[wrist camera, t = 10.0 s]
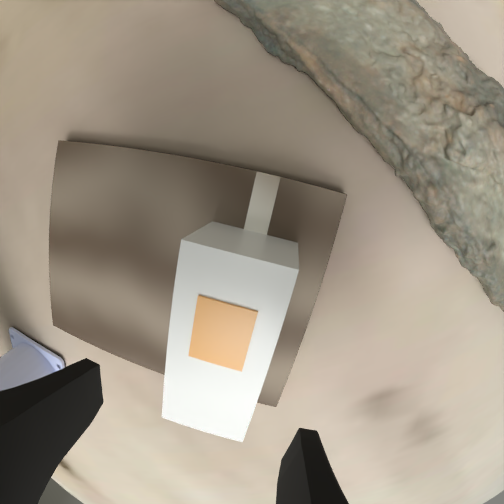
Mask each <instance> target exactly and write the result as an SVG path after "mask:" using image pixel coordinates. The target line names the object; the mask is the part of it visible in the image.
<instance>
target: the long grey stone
mask: <svg viewBox="0 0 504 504" xmlns="http://www.w3.org/2000/svg"><path fill="white" fill-rule="evenodd" d="M214 1H215V2H216V3H217V4H219V5H221V6H222V7H223V8H224V9H225V10H228V11H230V12H231V13H233V14H235V15H237V16H239V18H240V20H241V22H242V23H243V24H244V25H246V26H248V27H250V28H251V29H252V30H253V32H254V34H255V35H256V37H257V38H258V40H259V41H260V42H261V43H262V44H263V45H264V47H265V49H266V50H267V52H268V53H270V54H272V55H273V56H278V57H279V58H280V59H281V61H282V62H284V63H287V64H290V65H293V66H295V67H296V69H297V71H303V72H305V73H307V74H308V75H309V76H310V77H311V78H312V79H313V80H314V81H315V82H316V84H317V85H318V86H319V87H320V88H321V89H322V90H323V91H324V92H325V93H326V94H327V95H328V96H329V97H331V99H333V100H334V101H335V102H336V103H337V105H338V108H339V110H340V111H341V113H342V114H343V115H344V116H345V118H346V119H347V120H348V121H349V122H350V123H351V125H352V126H353V128H354V129H355V130H356V131H357V132H358V133H360V134H362V135H364V136H366V137H367V138H368V139H369V141H370V142H371V143H372V145H373V146H374V148H376V149H377V151H378V153H379V154H380V155H381V156H382V158H383V160H384V161H385V162H387V163H389V164H390V165H391V166H393V167H394V168H395V175H396V176H401V177H402V179H403V180H404V181H405V182H406V184H407V185H408V187H409V188H411V189H412V191H413V194H414V197H415V198H416V199H417V200H418V201H419V203H420V204H421V206H422V208H423V209H424V210H425V212H426V213H427V214H428V217H429V220H430V224H431V226H432V228H433V229H434V230H435V232H436V233H437V235H438V236H439V237H440V238H441V239H442V240H443V242H445V243H446V245H447V246H449V247H451V248H453V249H454V251H455V254H456V257H457V258H458V259H459V262H460V264H461V265H462V266H463V267H464V268H466V269H468V270H469V271H470V273H471V274H472V275H473V276H475V277H477V278H478V279H479V281H480V283H481V284H482V286H483V289H484V292H485V293H486V295H487V296H488V297H489V299H490V302H491V303H492V304H494V305H496V306H499V307H501V309H502V310H503V311H504V88H503V87H502V86H501V84H500V83H499V82H498V81H496V80H495V79H494V78H492V77H488V76H487V75H486V74H485V73H483V72H482V71H481V70H479V69H477V68H476V66H475V65H474V64H473V63H472V62H471V61H470V60H469V57H468V55H467V54H465V53H464V52H463V51H462V49H461V48H460V47H458V45H456V44H455V43H454V42H452V41H451V39H450V37H449V36H448V35H447V34H446V32H445V31H444V29H443V27H442V25H441V24H440V23H438V22H436V21H435V20H433V19H432V18H431V17H430V16H429V15H428V13H427V12H426V11H425V9H424V8H423V7H421V6H420V5H419V3H418V2H417V1H416V0H214Z"/></svg>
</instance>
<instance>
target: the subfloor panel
mask: <svg viewBox="0 0 504 504" xmlns="http://www.w3.org/2000/svg"><path fill="white" fill-rule="evenodd" d="M346 196H347V195H346V194H344V193H340V192H337V191H333V190H330V189H326V188H322V187H319V186H315V185H311V184H307V183H304V182H300V181H296V180H292V179H288V178H284V177H280V176H276V175H271V174H267V173H263V172H258V171H254V170H250V169H245V168H240V167H236V166H231V165H226V164H221V163H216V162H211V161H206V160H201V159H195V158H190V157H184V156H178V155H173V154H167V153H160V152H154V151H147V150H141V149H134V148H126V147H119V146H110V145H102V144H93V143H83V142H73V141H58V147H57V153H56V160H55V167H54V175H53V184H52V194H51V207H50V226H49V277H50V296H51V309H52V319H53V325H54V326H56V327H58V328H60V329H62V330H63V331H65V332H67V333H69V334H71V335H73V336H75V337H77V338H79V339H81V340H83V341H85V342H87V343H90V344H92V345H94V346H96V347H98V348H100V349H102V350H105V351H107V352H109V353H111V354H114V355H116V356H118V357H121V358H123V359H125V360H128V361H130V362H133V363H135V364H138V365H140V366H143V367H145V368H148V369H150V370H153V371H156V372H158V373H161V374H164V375H165V365H166V354H167V343H168V333H169V324H170V316H171V307H172V299H173V291H174V284H175V277H176V270H177V263H178V256H179V250H180V244H181V239H183V238H184V237H186V236H188V235H190V234H191V233H193V232H195V231H197V230H198V229H200V228H202V227H204V226H205V225H207V224H209V223H211V222H212V221H213V222H217V223H221V224H225V225H229V226H233V227H238V228H242V229H246V230H250V231H254V232H258V233H261V234H265V235H269V236H273V237H277V238H281V239H285V240H289V241H293V242H297V243H298V255H299V272H298V275H297V279H296V282H295V286H294V289H293V292H292V296H291V299H290V302H289V306H288V309H287V312H286V315H285V319H284V322H283V325H282V328H281V332H280V335H279V338H278V341H277V344H276V347H275V350H274V353H273V356H272V359H271V362H270V365H269V368H268V371H267V374H266V377H265V380H264V383H263V386H262V389H261V392H260V395H259V398H258V401H257V403H261V404H265V405H270V406H274V407H276V406H277V404H278V401H279V399H280V396H281V394H282V392H283V389H284V387H285V384H286V381H287V379H288V376H289V374H290V371H291V369H292V366H293V363H294V361H295V358H296V355H297V353H298V350H299V347H300V344H301V342H302V339H303V336H304V333H305V331H306V328H307V325H308V322H309V319H310V316H311V313H312V310H313V307H314V304H315V301H316V298H317V295H318V292H319V289H320V286H321V283H322V280H323V277H324V273H325V270H326V267H327V264H328V260H329V257H330V254H331V250H332V247H333V244H334V240H335V237H336V233H337V230H338V226H339V222H340V219H341V215H342V211H343V208H344V204H345V200H346Z"/></svg>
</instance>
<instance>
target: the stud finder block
mask: <svg viewBox="0 0 504 504" xmlns="http://www.w3.org/2000/svg"><path fill="white" fill-rule="evenodd" d="M298 272H299V255H298V243H297V242H293V241H289V240H285V239H281V238H277V237H273V236H269V235H265V234H261V233H258V232H254V231H250V230H246V229H242V228H238V227H233V226H229V225H225V224H221V223H217V222H213V221H212V222H211V223H209V224H207V225H205V226H204V227H202V228H200V229H198V230H197V231H195V232H193V233H191V234H190V235H188V236H186V237H184V238H183V239H181V244H180V250H179V256H178V263H177V270H176V277H175V284H174V291H173V299H172V307H171V316H170V324H169V333H168V343H167V354H166V365H165V377H164V390H163V406H162V418H165V419H168V420H171V421H173V422H176V423H179V424H182V425H185V426H188V427H191V428H194V429H197V430H200V431H204V432H207V433H210V434H214V435H217V436H221V437H225V438H228V439H232V440H236V441H240V442H243V439H244V437H245V434H246V431H247V428H248V426H249V423H250V420H251V417H252V415H253V412H254V409H255V406H256V403H257V401H258V398H259V395H260V392H261V389H262V386H263V383H264V380H265V377H266V374H267V371H268V368H269V365H270V362H271V359H272V356H273V353H274V350H275V347H276V344H277V341H278V338H279V335H280V332H281V328H282V325H283V322H284V319H285V315H286V312H287V309H288V306H289V302H290V299H291V296H292V292H293V289H294V286H295V282H296V279H297V275H298Z"/></svg>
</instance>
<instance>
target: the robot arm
mask: <svg viewBox="0 0 504 504" xmlns="http://www.w3.org/2000/svg"><path fill="white" fill-rule="evenodd" d="M9 334H10V338H11V343H12V347H13V348H12V349H11V350H10V351H8V352H7V353H5V354H4V355H3V356H1V357H0V504H38V501H39V499H40V497H41V495H42V493H43V491H44V489H45V487H46V485H47V483H48V481H49V480H50V478H51V476H52V475H53V473H54V471H55V469H56V468H57V466H58V465H59V463H60V462H61V460H62V459H63V458H64V456H65V455H66V454H67V453H68V451H69V450H70V449H71V448H72V446H73V445H74V444H75V443H76V441H77V440H78V439H79V438H80V436H81V435H82V434H83V433H84V431H85V430H86V429H87V428H88V426H89V425H90V424H91V422H92V421H93V419H94V418H95V416H96V414H97V413H98V411H99V409H100V407H101V406H102V404H103V395H102V386H101V376H100V365H99V364H97V363H95V362H93V361H91V360H89V359H87V358H86V359H83V360H81V361H78V362H76V363H74V364H72V365H69V366H67V367H65V365H64V361H63V359H62V358H61V357H60V356H58V355H56V354H54V353H53V352H51V351H49V350H48V349H46V348H44V347H43V346H41V345H39V344H38V343H36V342H35V341H33V340H31V339H30V338H28V337H27V336H25V335H24V334H22V333H21V332H19V331H18V330H16V329H15V328H13V327H11V328H9ZM276 504H349V503H348V501H347V499H346V497H345V496H344V494H343V492H342V490H341V488H340V486H339V484H338V481H337V479H336V477H335V475H334V473H333V471H332V468H331V466H330V463H329V461H328V458H327V456H326V453H325V451H324V448H323V445H322V443H321V440H320V437H319V434H318V432H317V431H315V430H309V429H303V428H299V429H298V431H297V433H296V435H295V437H294V439H293V440H292V442H291V444H290V446H289V448H288V449H287V451H286V453H285V455H284V456H283V458H282V460H281V466H280V471H279V477H278V482H277V496H276Z"/></svg>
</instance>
